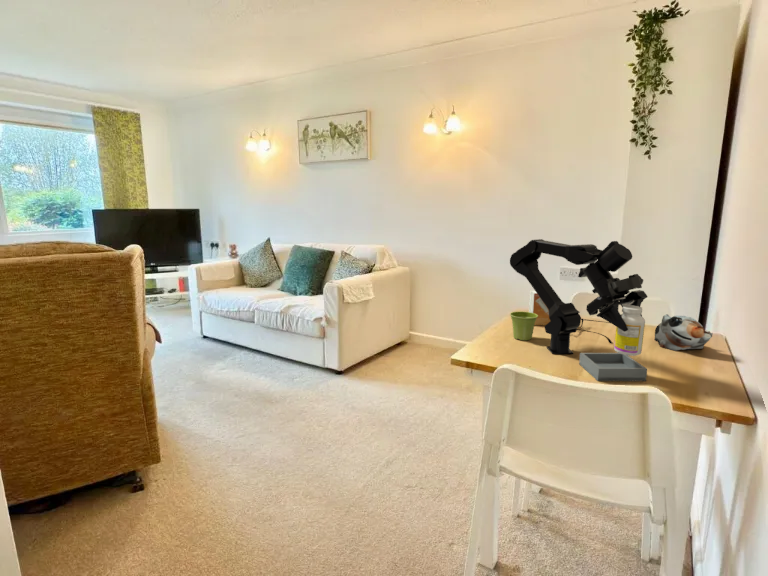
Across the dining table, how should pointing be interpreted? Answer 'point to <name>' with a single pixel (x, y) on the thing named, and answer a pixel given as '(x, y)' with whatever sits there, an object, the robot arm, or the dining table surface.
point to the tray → (612, 367)
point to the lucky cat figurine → (681, 333)
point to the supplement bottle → (630, 332)
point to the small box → (538, 309)
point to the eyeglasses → (595, 332)
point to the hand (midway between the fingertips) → (634, 328)
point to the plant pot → (523, 324)
